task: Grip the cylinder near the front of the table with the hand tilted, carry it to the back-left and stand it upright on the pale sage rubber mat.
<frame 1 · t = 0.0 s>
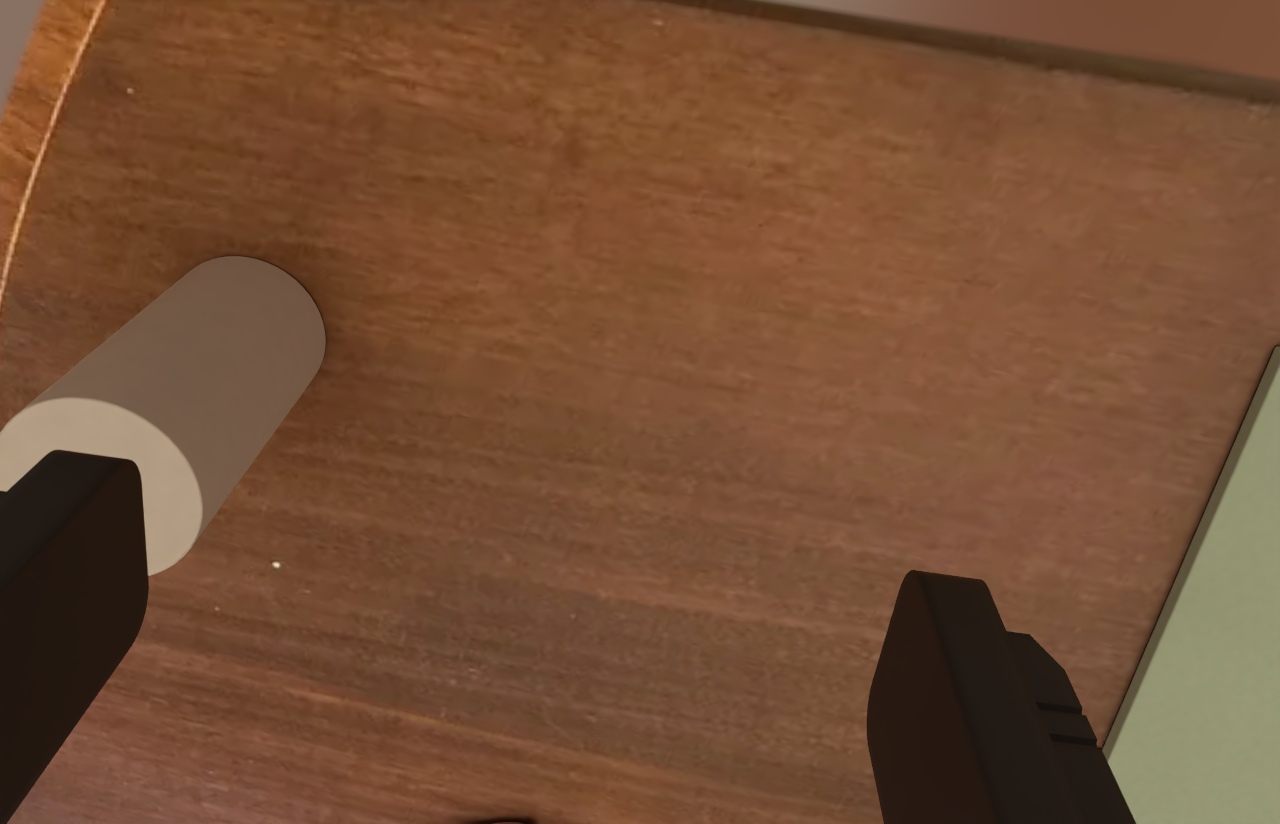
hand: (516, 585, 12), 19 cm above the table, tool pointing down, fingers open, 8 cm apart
cylinder: (248, 330, 31), on the table
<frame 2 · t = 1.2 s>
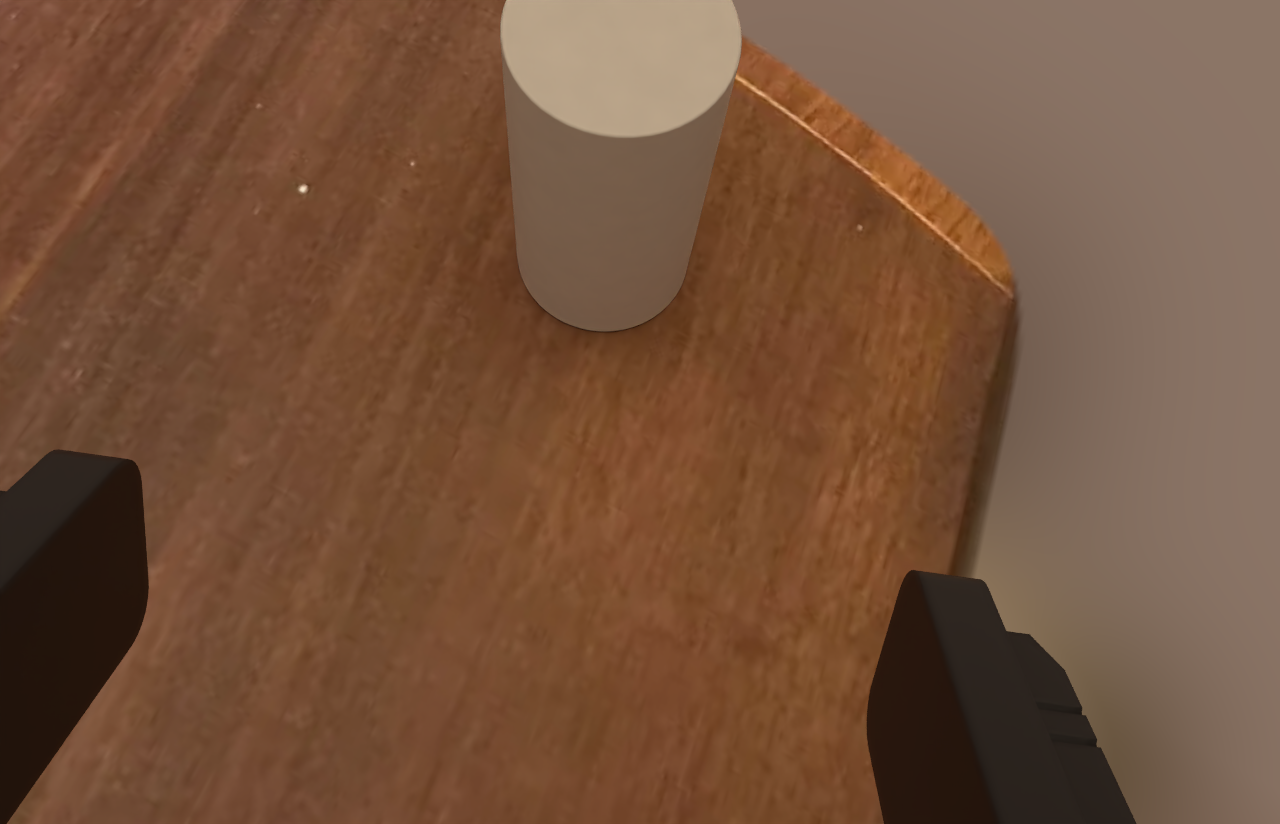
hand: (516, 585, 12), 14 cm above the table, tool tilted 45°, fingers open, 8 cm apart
cylinder: (602, 253, 29), on the table
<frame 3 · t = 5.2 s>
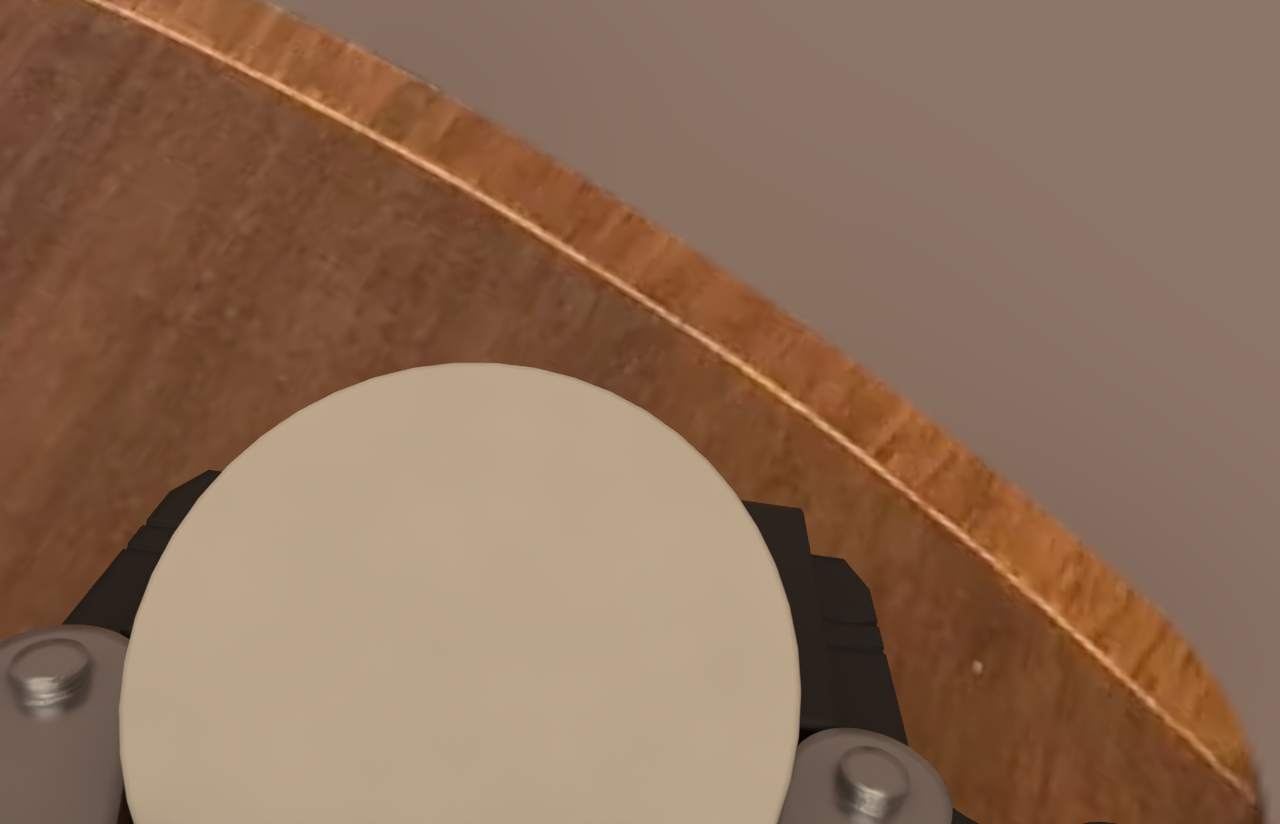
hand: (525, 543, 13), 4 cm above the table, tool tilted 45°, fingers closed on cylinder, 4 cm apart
cylinder: (513, 734, 16), on the table, touching gripper
when the fingers open (5 cm above the table, at t = 15.4 s): cylinder stays where it is, resting on mat.
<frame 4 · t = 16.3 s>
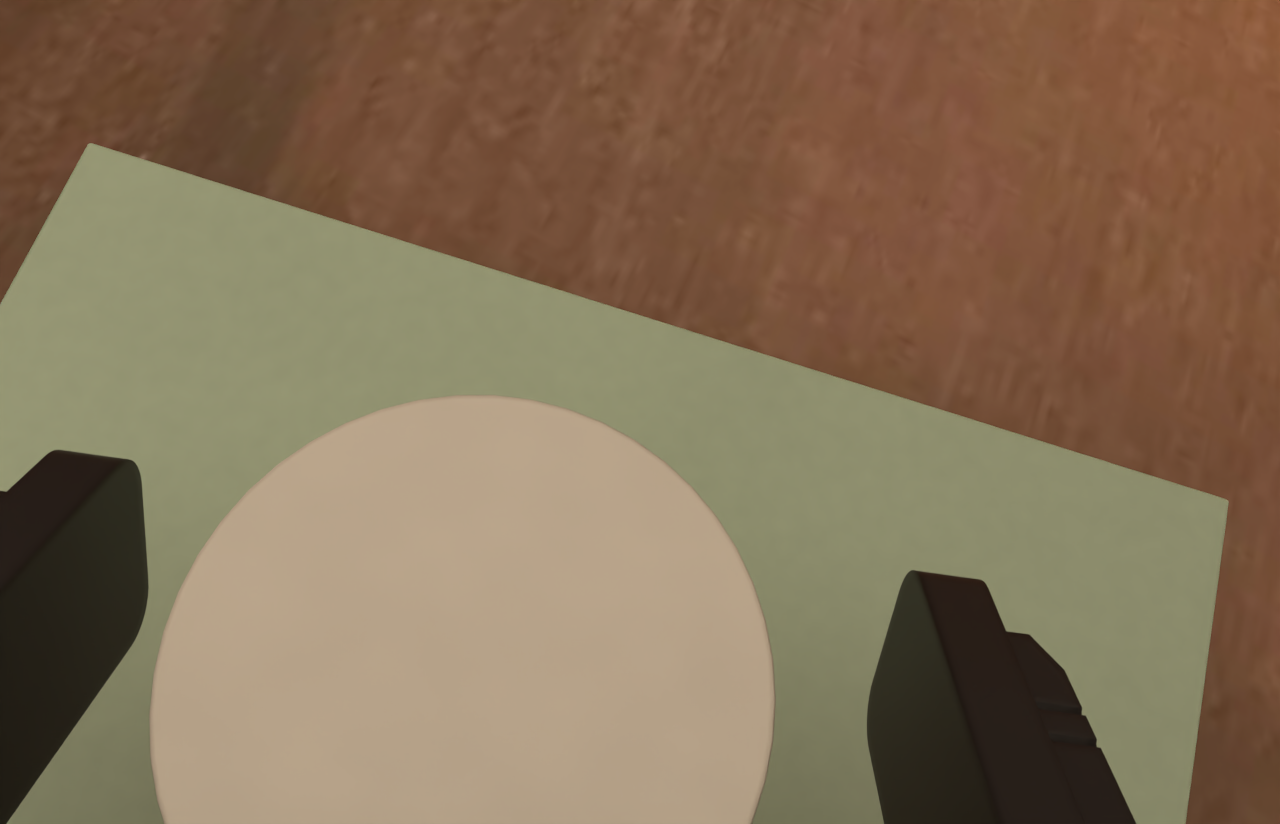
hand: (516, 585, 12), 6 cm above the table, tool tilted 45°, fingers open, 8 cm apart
mat: (492, 801, 17), on the table
cylinder: (512, 736, 16), point 1 cm above the table, touching mat
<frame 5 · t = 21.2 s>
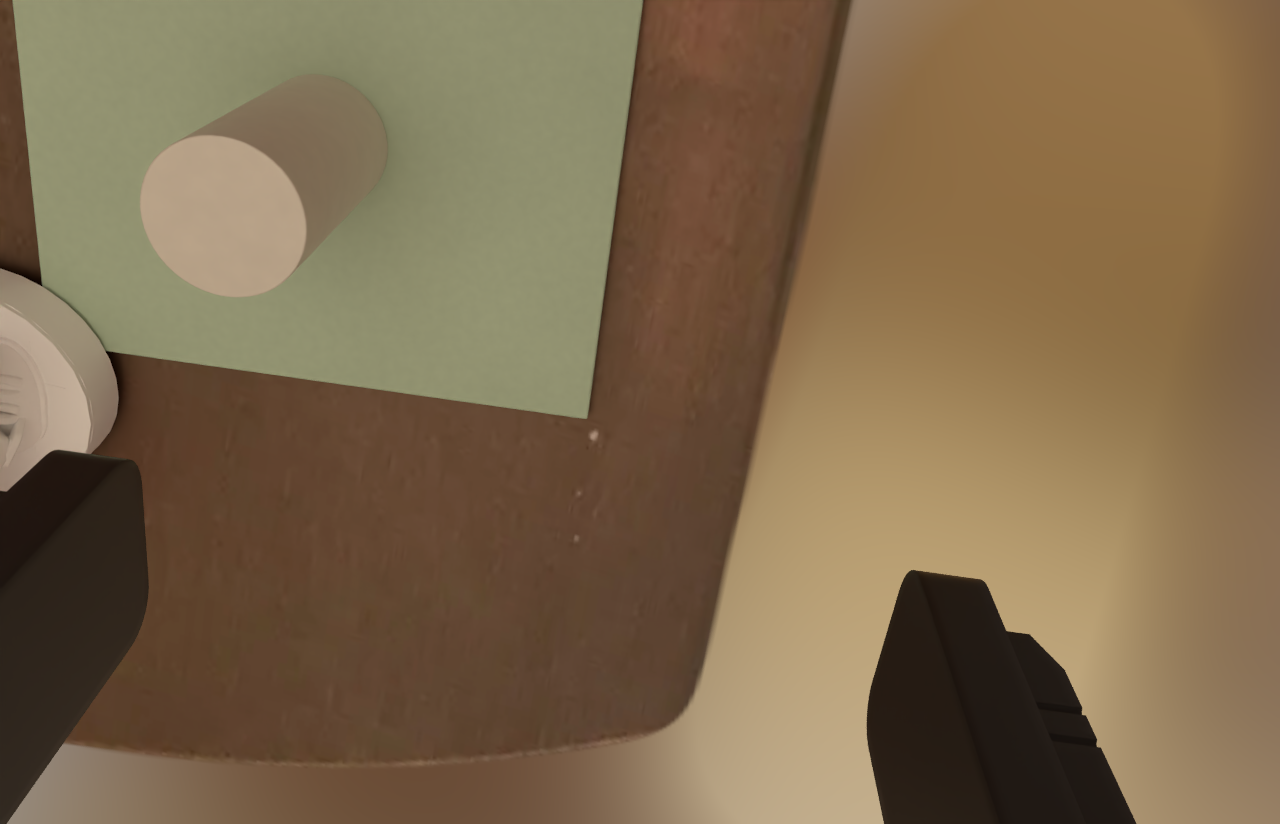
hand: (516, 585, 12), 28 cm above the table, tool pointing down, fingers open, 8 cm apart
mat: (327, 165, 38), on the table
character figurine: (7, 378, 42), on the table, touching mat
cylinder: (322, 141, 38), point 1 cm above the table, touching mat
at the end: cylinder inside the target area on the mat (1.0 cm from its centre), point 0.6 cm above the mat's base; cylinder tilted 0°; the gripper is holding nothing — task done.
